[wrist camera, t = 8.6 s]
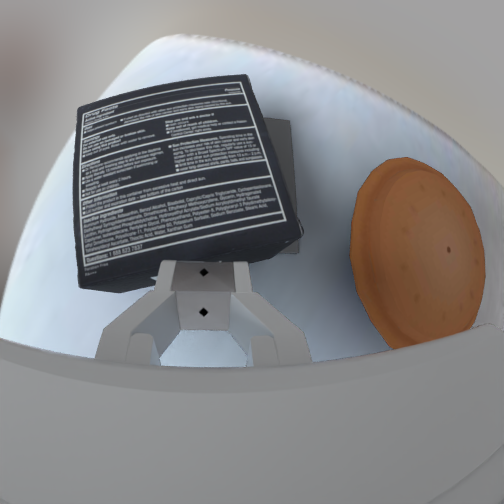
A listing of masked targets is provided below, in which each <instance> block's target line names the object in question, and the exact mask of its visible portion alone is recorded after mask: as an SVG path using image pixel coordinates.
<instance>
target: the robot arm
mask: <svg viewBox="0 0 504 504" xmlns="http://www.w3.org/2000/svg"><path fill="white" fill-rule="evenodd" d="M180 330H221V331H229V333H230V334H231V335H232V337H233V338H234V339H235V341H236V342H237V343H238V344H239V346H240V347H241V348H242V350H243V351H244V352H245V353H246V355H247V356H248V357H247V363H246V367H177V366H161V363H160V359H159V358H160V357H161V355H162V354H163V353H164V351H165V350H166V349H167V348H168V346H169V345H170V344H171V343H172V341H173V340H174V339H175V337H176V336H177V335H178V334H179V332H180ZM0 504H504V331H502V330H501V329H499V328H498V327H496V326H494V325H493V324H484V325H481V326H478V327H475V328H472V329H469V330H466V331H463V332H460V333H457V334H453V335H450V336H447V337H443V338H439V339H436V340H432V341H428V342H424V343H420V344H416V345H412V346H408V347H403V348H399V349H394V350H389V351H384V352H379V353H373V354H368V355H362V356H356V357H349V358H342V359H335V360H327V361H319V362H312V358H311V355H310V351H309V348H308V345H307V341H306V338H305V335H304V332H303V331H301V330H300V329H299V328H298V327H297V326H295V325H294V324H293V323H292V322H291V321H290V320H288V319H287V318H286V317H285V316H284V315H283V314H281V313H280V312H279V311H278V310H277V309H276V308H274V307H273V306H272V305H271V304H270V303H269V302H268V301H266V300H265V299H264V298H263V297H262V296H261V295H260V294H258V293H257V292H253V290H252V284H251V278H250V272H249V265H248V262H247V261H244V262H203V261H179V260H177V261H176V260H163V261H162V262H161V265H160V269H159V273H158V276H157V280H156V285H155V289H154V291H149V292H148V293H146V294H145V295H144V296H143V297H141V298H140V299H139V300H138V301H136V302H135V303H134V304H133V305H132V306H130V307H129V308H128V309H127V310H126V311H124V312H123V313H122V314H121V315H119V316H118V317H117V318H116V319H115V320H113V321H112V322H111V323H110V324H109V325H108V326H106V327H105V328H104V329H103V332H102V335H101V338H100V342H99V345H98V348H97V352H96V355H95V359H94V358H87V357H81V356H75V355H70V354H64V353H59V352H54V351H50V350H45V349H41V348H36V347H32V346H28V345H24V344H20V343H17V342H13V341H10V340H6V339H3V338H0Z"/></svg>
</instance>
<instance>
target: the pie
mask: <svg viewBox="0 0 504 504" xmlns="http://www.w3.org/2000/svg"><path fill="white" fill-rule="evenodd" d="M349 256H350V261H351V266H352V270H353V275H354V280H355V286H356V291H357V294H358V296H359V298H360V300H361V302H362V304H363V306H364V308H365V310H366V312H367V314H368V316H369V318H370V320H371V322H372V323H373V325H374V326H375V328H376V329H377V330H378V332H379V333H380V334H381V336H382V337H383V338H384V340H385V341H386V343H387V344H388V345H389V346H390V347H391V348H393V349H399V348H403V347H408V346H412V345H416V344H420V343H424V342H428V341H432V340H436V339H439V338H443V337H447V336H450V335H453V334H457V333H460V332H463V331H466V330H469V329H470V328H471V326H472V325H473V323H474V321H475V319H476V316H477V313H478V310H479V307H480V304H481V300H482V295H483V289H484V283H485V277H486V276H485V257H484V248H483V243H482V239H481V234H480V230H479V228H478V225H477V223H476V220H475V217H474V214H473V212H472V209H471V207H470V205H469V204H468V203H467V201H466V200H465V199H464V197H463V196H462V195H461V193H460V192H459V191H458V190H457V189H456V187H455V186H454V185H453V184H452V183H451V182H450V181H449V180H448V179H447V178H446V177H445V176H444V175H443V174H442V173H440V172H439V171H437V170H435V169H433V168H432V167H430V166H428V165H427V164H425V163H422V162H420V161H417V160H414V159H411V158H408V157H403V158H396V159H389V160H386V161H385V162H384V163H382V164H381V165H379V166H378V167H377V168H375V169H374V170H373V171H372V172H371V173H370V175H369V176H368V178H367V179H366V181H365V182H364V184H363V185H362V187H361V188H360V190H359V191H358V194H357V199H356V204H355V208H354V213H353V217H352V222H351V240H350V254H349Z"/></svg>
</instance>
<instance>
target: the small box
mask: <svg viewBox="0 0 504 504" xmlns="http://www.w3.org/2000/svg"><path fill="white" fill-rule="evenodd" d="M74 148H75V152H74V161H73V214H74V218H73V224H74V237H75V243H76V244H75V249H76V259H77V267H78V275H77V276H78V284H79V287H80V288H82V289H91V290H97V291H104V292H113V293H123V292H128V291H131V290H136V289H141V288H145V287H149V286H154V285H156V280H157V276H158V273H159V269H160V265H161V262H162V261H163V260H176V261H177V260H179V261H203V262H244V261H247V262H248V264H249V263H253V262H258V261H262V260H266V259H270V258H272V257H274V256H275V255H277V254H278V253H280V252H281V251H282V250H284V249H285V248H286V247H288V246H289V245H291V244H292V243H293V242H295V241H296V240H298V239H300V238H301V237H302V236H303V234H304V230H303V227H302V226H301V223H300V220H299V219H298V217H297V215H296V213H295V210H294V206H293V203H292V199H291V197H290V194H289V191H288V187H287V184H286V181H285V179H284V175H283V172H282V169H281V166H280V163H279V160H278V157H277V154H276V151H275V149H274V146H273V143H272V140H271V138H270V135H269V132H268V129H267V127H266V124H265V121H264V119H263V116H262V113H261V111H260V108H259V105H258V103H257V101H256V98H255V95H254V93H253V90H252V86H251V83H250V79H249V77H248V75H246V74H241V75H227V76H216V77H207V78H199V79H192V80H185V81H179V82H173V83H167V84H162V85H157V86H152V87H148V88H143V89H139V90H135V91H131V92H127V93H123V94H119V95H116V96H112V97H109V98H106V99H102V100H99V101H96V102H93V103H90V104H87V105H84V106H81V107H79V108H78V110H77V124H76V137H75V147H74Z"/></svg>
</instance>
